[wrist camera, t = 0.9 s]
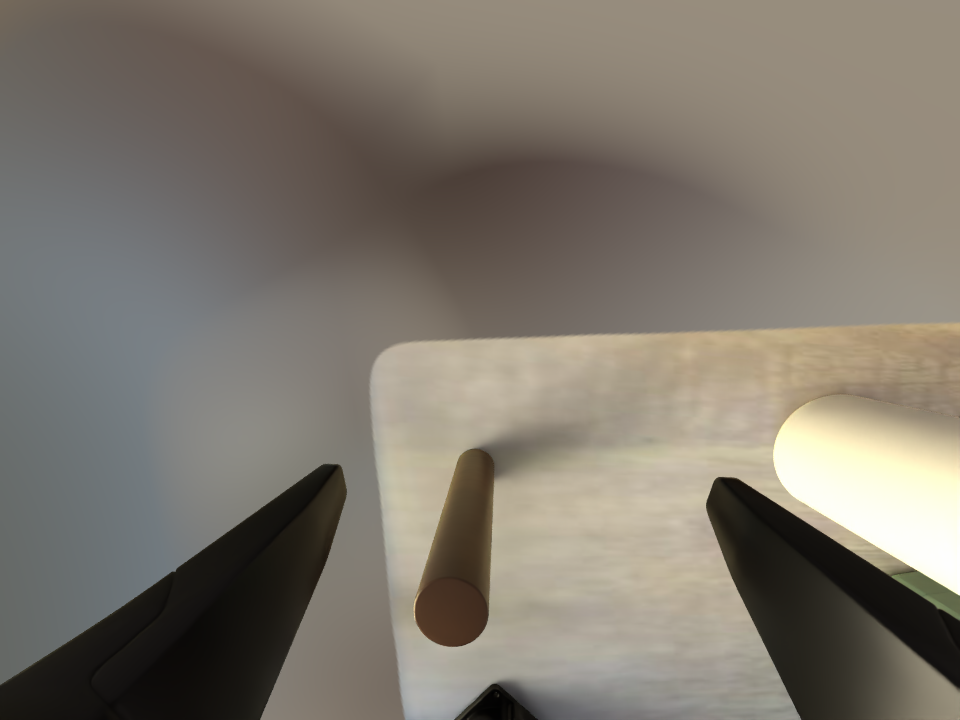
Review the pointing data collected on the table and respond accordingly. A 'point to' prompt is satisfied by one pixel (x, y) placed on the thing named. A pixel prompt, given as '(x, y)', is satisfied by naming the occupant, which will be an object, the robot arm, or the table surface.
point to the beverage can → (880, 476)
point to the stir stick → (460, 557)
